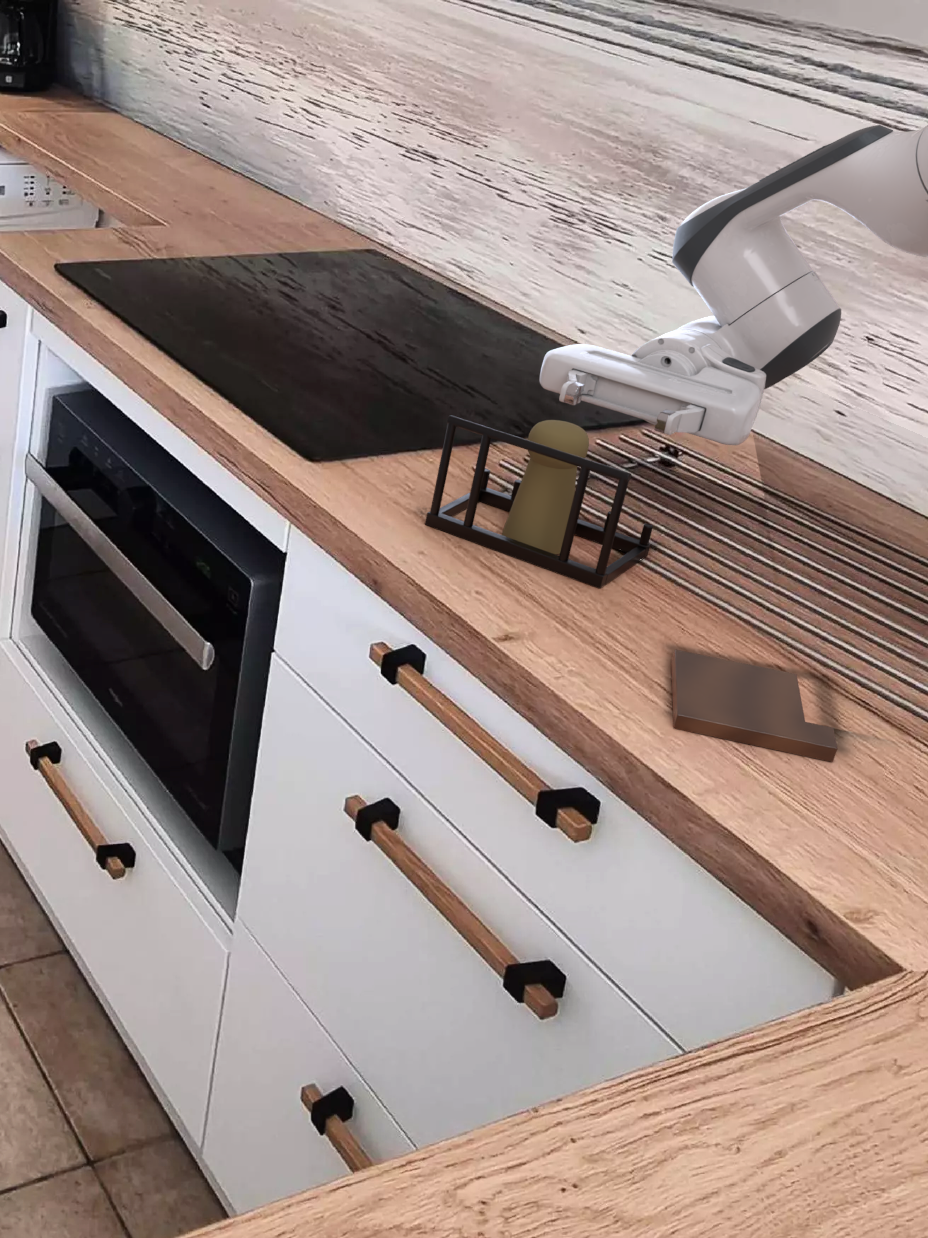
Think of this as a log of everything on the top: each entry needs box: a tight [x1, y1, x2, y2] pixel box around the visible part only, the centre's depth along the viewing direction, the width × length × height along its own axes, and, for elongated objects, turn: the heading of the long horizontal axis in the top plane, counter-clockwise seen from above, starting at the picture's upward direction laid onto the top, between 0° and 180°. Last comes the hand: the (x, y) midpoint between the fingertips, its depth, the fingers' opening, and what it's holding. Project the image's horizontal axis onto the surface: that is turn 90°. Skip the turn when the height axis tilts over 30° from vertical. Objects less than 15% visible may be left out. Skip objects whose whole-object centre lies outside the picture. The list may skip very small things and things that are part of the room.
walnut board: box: [670, 649, 838, 763], centre depth 124 cm, size 11×11×1 cm
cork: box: [501, 419, 590, 555], centre depth 147 cm, size 6×6×11 cm
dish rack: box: [424, 415, 654, 589], centre depth 147 cm, size 10×17×10 cm, turn 51°
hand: (614, 409), depth 154 cm, fingers open, 8 cm apart
